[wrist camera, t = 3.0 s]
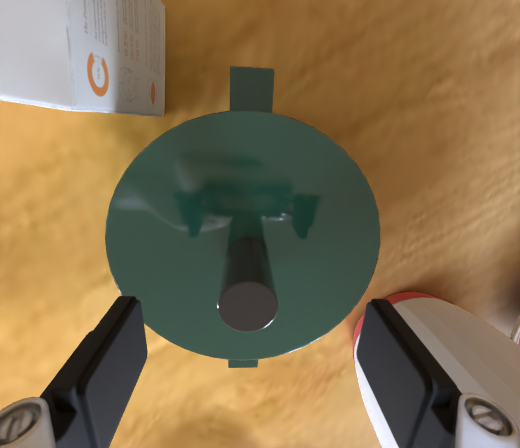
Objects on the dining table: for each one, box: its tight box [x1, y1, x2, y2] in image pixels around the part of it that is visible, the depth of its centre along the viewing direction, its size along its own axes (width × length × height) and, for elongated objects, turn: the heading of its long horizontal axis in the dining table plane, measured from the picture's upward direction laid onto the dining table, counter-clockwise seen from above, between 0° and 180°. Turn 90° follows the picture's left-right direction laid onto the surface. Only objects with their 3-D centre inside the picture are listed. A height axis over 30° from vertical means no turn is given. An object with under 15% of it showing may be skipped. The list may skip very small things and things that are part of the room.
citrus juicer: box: [353, 292, 520, 448], centre depth 23 cm, size 16×17×20 cm
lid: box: [105, 110, 380, 360], centre depth 15 cm, size 17×17×6 cm
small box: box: [0, 0, 166, 117], centre depth 15 cm, size 8×6×13 cm
